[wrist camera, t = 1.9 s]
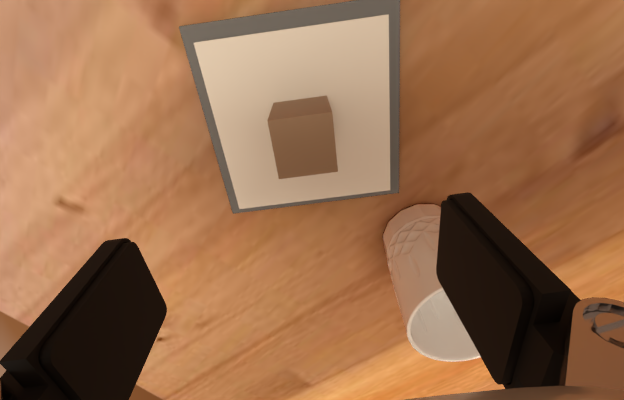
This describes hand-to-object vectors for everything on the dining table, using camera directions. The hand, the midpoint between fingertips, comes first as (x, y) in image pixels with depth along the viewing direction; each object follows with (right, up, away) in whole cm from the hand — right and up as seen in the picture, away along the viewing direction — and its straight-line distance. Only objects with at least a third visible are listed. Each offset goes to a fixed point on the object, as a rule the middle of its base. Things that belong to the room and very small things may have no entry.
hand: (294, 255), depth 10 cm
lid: (0, +7, +14) cm, 15 cm away
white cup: (+10, -1, +20) cm, 22 cm away
